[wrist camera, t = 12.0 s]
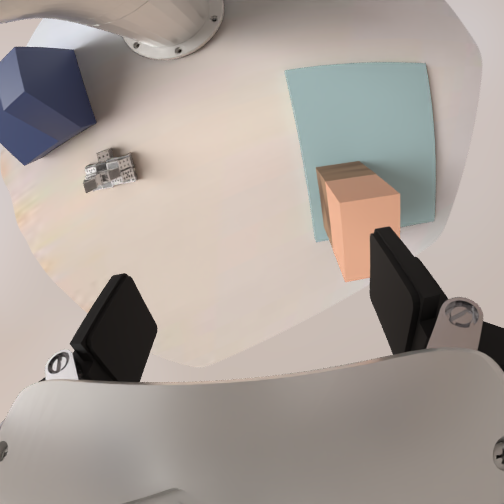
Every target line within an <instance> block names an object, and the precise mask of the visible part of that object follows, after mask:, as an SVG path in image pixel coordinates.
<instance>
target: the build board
mask: <svg viewBox="0 0 504 504" xmlns="http://www.w3.org/2000/svg"><path fill="white" fill-rule="evenodd" d="M285 76H286V80H287V84H288V89H289V93H290V98H291V103H292V107H293V112H294V117H295V122H296V127H297V132H298V137H299V142H300V148H301V153H302V159H303V164H304V170H305V176H306V182H307V188H308V195H309V201H310V208H311V214H312V221H313V228H314V236H315V240H316V242H320V241H326V240H329V238H328V236H327V233H326V231H325V229H324V224H323V216H322V209H321V201H320V194H319V187H318V180H317V174H316V167H321V166H327V165H334V164H341V163H348V162H355V161H360V162H361V163H363V164H364V165H365V166H366V167H368V168H369V169H370V170H372V171H373V172H374V173H376V174H377V175H378V176H379V177H380V178H382V179H383V180H384V181H385V182H387V183H388V184H389V185H390V186H391V187H393V188H394V189H395V190H396V191H397V192H399V193H400V227H404V226H410V225H416V224H421V223H427V222H432V221H434V217H435V193H436V159H435V136H434V123H433V112H432V103H431V95H430V87H429V81H428V74H427V68H426V64H424V63H401V62H373V63H349V64H335V65H324V66H314V67H306V68H298V69H291V70H285Z"/></svg>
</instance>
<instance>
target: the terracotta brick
mask: <svg viewBox="0 0 504 504" xmlns="http://www.w3.org/2000/svg"><path fill="white" fill-rule="evenodd" d="M325 184H326V192H327V200H328V208H329V216H330V225H331V235H332V245H333V252H334V254H335V257H336V259H337V262H338V264H339V267H340V269H341V272H342V275H343V277H344V280H345V282H349V281H354V280H359V279H365V278H370V234H371V233H374V230H375V229H377V228H383V227H388V226H390V227H391V228H392V230H393V231H394V232H395V233H396V234H397V236H398V237H399V238H400V193H399V192H397V191H396V190H395V189H394V188H393V187H391V186H390V185H389V184H388V183H387V182H385V181H384V180H383V179H382V178H380V177H379V176H378V175H376V174H374V175H366V176H359V177H352V178H346V179H339V180H332V181H326V182H325Z"/></svg>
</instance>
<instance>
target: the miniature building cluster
mask: <svg viewBox="0 0 504 504" xmlns="http://www.w3.org/2000/svg"><path fill="white" fill-rule="evenodd" d="M97 157H98V161H99V163H100V164H99V163H97V164H93V165H90V164H89V165H87V166H86V167H85V172H86V176H85V178H86V179H85V180H84V182H83V184H84V188H85V191H86V193H88V192H90V191H95V190H99V189H102V188H103V189H106V188H110V187H113V186H114V185H118V184H121V183H123V184H124V183H130V182H135V181H136V180H137V175H136V171H135V167H133V166H135V165H133V161H132V156H131V153H129V154H128V155H126V156H122V157H118V158H117V157H116V158H112V157H113V153H112V148H110V149H108V150H106V151H101V152H99V153H97ZM111 158H112V159H111ZM104 161H106V162H104ZM101 162H104V163H101ZM132 167H133V168H132Z"/></svg>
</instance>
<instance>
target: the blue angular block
mask: <svg viewBox="0 0 504 504" xmlns="http://www.w3.org/2000/svg"><path fill="white" fill-rule="evenodd" d="M96 123H97V122H96V119H95V117H94V114H93V111H92V108H91V105H90V102H89V99H88V96H87V93H86V90H85V87H84V83H83V80H82V77H81V74H80V70H79V67H78V63H77V60H76V56H75V52H74V50H69V49H58V48H43V47H14V48H13V49H12V50H11V51H10V52H9V53H8V54H7V55H6V56H5V57H4V58H3V59H2V61H0V143H1V144H2V145H3V146H4V147H5V148H6V149H7V150H8V151H9V152H10V153H11V154H12V155H13V156H15V157H16V158H17V159H18V160H19V161H20V162H21V163H22V164H23V165H24V166H25V165H27V164H29V163H31V162H34V161H36V160H38V159H40V158H42V157H43V156H45V155H46V154H47V153H49V152H50V151H52V150H53V149H55V148H56V147H58V146H59V145H61V144H63V143H64V142H66V141H67V140H69V139H70V138H72V137H74V136H75V135H77V134H79V133H80V132H82V131H84V130H85V129H87V128H89V127H91V126H92V125H94V124H96Z"/></svg>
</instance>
